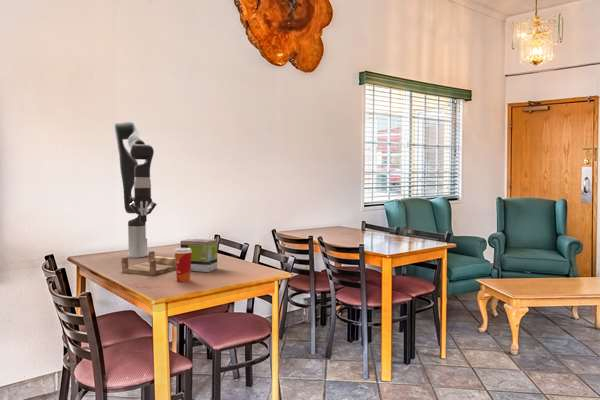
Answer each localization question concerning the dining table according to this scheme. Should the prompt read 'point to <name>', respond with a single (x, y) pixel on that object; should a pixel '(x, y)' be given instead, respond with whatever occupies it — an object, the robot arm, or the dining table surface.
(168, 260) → the tan curved wooden piece
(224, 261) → the dining table surface
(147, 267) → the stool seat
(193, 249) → the tea box
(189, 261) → the paper cup
